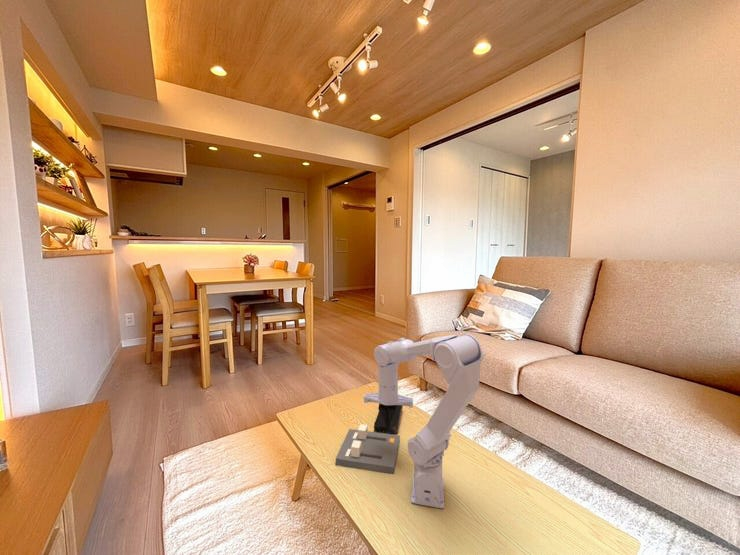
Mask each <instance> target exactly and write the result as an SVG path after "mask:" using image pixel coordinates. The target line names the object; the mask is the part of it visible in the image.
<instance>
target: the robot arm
mask: <svg viewBox="0 0 740 555" xmlns="http://www.w3.org/2000/svg"><path fill="white" fill-rule="evenodd" d="M424 355H425V356H426V355H430V356H431V360H432V361H433V362H435V363H436V364H437V366H438V368H439V370H440V371H441V373H442V375H443V377H444V378H445V380H446V382H447V384H448V385H449V387H448V388H447V389H446V392H445V394H444V395H443V397H442V399H441V400H440V402H439V403H438V406H437V407H436V409H435V410H434V412H433V413H432V415H431V417H430V418H429V420H428V421H427V423H426V425H425V426H424V427H423V428H422V429H420V431H418V432H417V433H416V434H415V436H414V437H410V438H409V439H408V440H407V451H408V454H409V457H410V458H411V460H412V461H413V475H412V483H411V484H412V486H411V494H410V495H411V496H410V502H411V503H412V504H416V505H422V506H426V507H433V508H438V509H444V508H445V502H444V501H445V499H444V498H445V496H444V495H445V493H444V492H445V490H444V477H443V457H444V456H445V451H446V450H448V448H449V445H450V438H451V436H452V434H451V430H452V429H453V428H454V426H455V425H456V424H457V421H458V420H459V418H460V417H461V416H462V414H463V413H464V412H465V409H466V408H467V406H468V405H469V404H470V402H471V401H472V399H473V397H474V396H475V394H477V391H479V390H478V389H479V388H480V376H481V375H480V374H481V364H482V362H483V359H484V357H485V355H484V352H483V349H482V347H481V344H480V342H479V340H478V339H477V338H476V336H474V335H472V334H469V333H465V334H464V333H463V334H461V335H459V334H450V335H444V336H437V337H434V338H429V339H425V340H422V341H421V340H420V341H416V342H414V341H413V340H411V339H407V338H405V337H402V338H398V339H397V341H393V340H390V341H388V342H387V343H384V344H380V345H378V346H376V347H375V348H374V350H373V357H374V360H375V362H376V363H377V367H378V368H377V369H378V372H377V373H378V374H377V375H378V380H377V381H378V392H377V393H376V392H375V393H373V392H372V393H365V394H364V396H363V403H365V404H368V403H373V404H374V403H376V404H378V412H379V411H380V413H381V415H382V417H383V419H384V422H385V426H386V428H389V429H390V428H391V422H392V418H393V416H394V414H395V412H396V409H397V405H402V406H403V407H408V408H410V409H411V408H412V409H413V407H414V398H412V397H408V396H404V395H402V394H399V389H398V388H399V381H398V380H399V372H398V371H399V370H398V369H399V367H400V363H405V362H406V363H407V362H412V361H414V360H415V358H416V357H417V356H424Z"/></svg>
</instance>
